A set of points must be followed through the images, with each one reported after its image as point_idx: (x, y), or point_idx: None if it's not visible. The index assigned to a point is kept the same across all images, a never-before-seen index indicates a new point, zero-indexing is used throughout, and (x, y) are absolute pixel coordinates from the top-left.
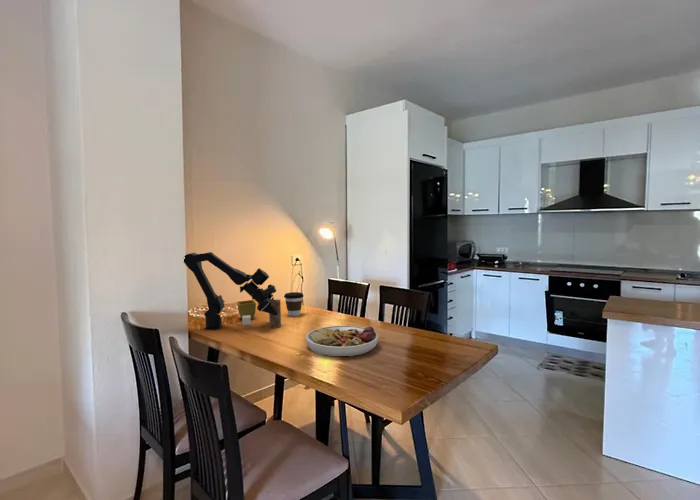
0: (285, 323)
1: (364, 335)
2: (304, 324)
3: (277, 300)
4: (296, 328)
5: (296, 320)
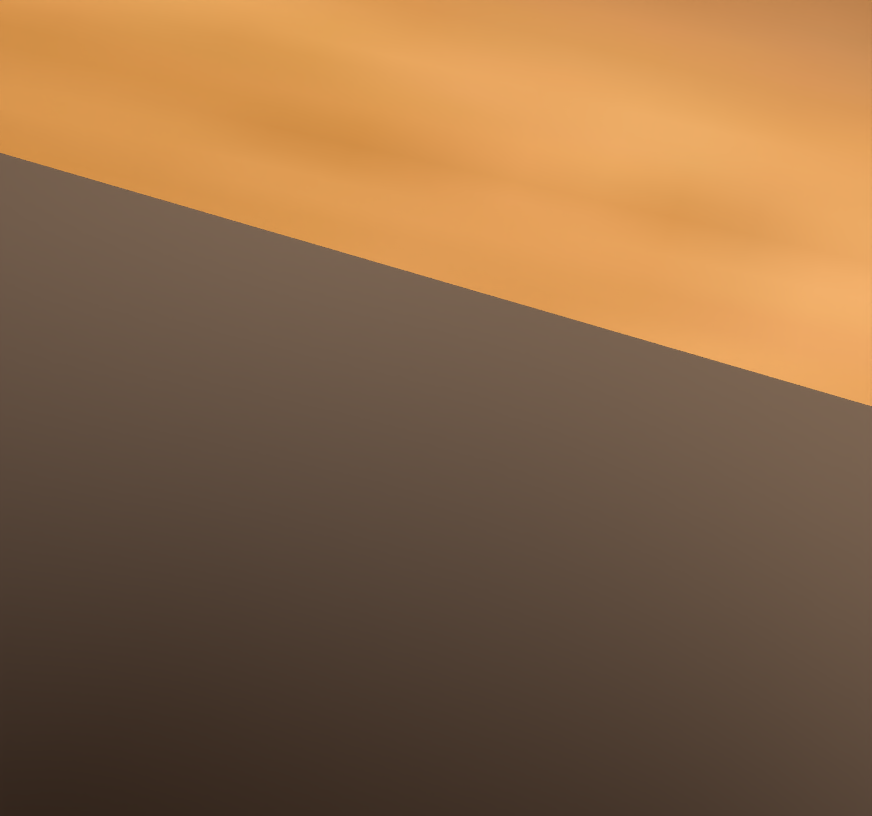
0: None
1: None
2: (505, 46)
3: (272, 514)
4: (756, 257)
5: (108, 111)
